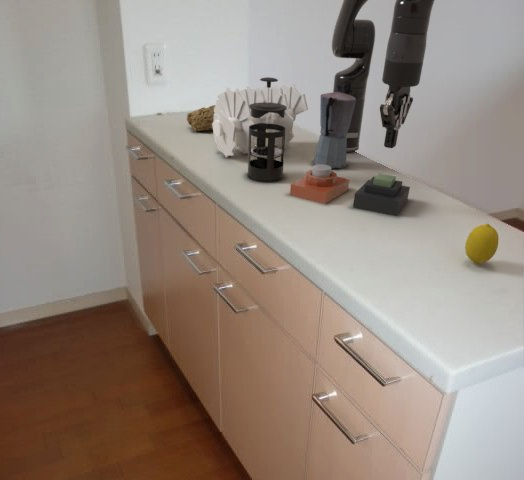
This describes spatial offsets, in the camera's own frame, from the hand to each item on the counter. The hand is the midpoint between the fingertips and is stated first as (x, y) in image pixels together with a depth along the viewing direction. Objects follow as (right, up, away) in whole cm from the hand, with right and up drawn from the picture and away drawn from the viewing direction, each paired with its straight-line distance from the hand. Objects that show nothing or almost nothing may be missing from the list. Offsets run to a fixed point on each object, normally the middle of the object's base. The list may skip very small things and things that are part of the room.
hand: (389, 146), depth 120 cm
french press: (-27, 0, +21) cm, 35 cm away
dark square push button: (0, -11, +7) cm, 13 cm away
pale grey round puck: (-14, -3, +10) cm, 17 cm away
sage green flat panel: (0, -7, +5) cm, 8 cm away
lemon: (+12, -28, -17) cm, 35 cm away
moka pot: (-9, +6, +31) cm, 33 cm away
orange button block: (-14, -6, +12) cm, 20 cm away
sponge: (-42, +28, +60) cm, 79 cm away
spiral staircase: (-30, +12, +38) cm, 50 cm away
